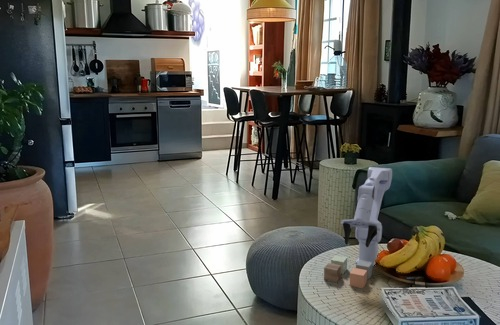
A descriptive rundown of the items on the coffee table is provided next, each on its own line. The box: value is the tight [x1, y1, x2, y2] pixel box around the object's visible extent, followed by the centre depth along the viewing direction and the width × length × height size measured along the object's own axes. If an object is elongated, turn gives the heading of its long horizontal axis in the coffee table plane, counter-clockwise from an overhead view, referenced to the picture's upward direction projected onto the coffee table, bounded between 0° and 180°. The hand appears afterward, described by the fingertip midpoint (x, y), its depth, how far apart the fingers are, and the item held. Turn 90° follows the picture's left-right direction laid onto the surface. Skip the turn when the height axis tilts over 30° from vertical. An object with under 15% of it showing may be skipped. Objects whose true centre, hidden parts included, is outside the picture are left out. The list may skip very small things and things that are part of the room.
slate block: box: [355, 260, 373, 280], centre depth 175 cm, size 5×5×5 cm
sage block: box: [330, 254, 348, 275], centre depth 180 cm, size 5×5×5 cm
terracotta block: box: [349, 267, 368, 289], centre depth 169 cm, size 5×5×5 cm
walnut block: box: [323, 262, 342, 283], centre depth 173 cm, size 5×5×5 cm
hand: (356, 244), depth 166 cm, fingers open, 7 cm apart
